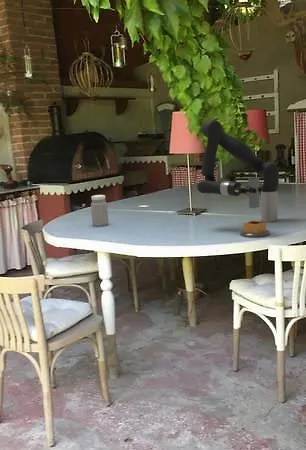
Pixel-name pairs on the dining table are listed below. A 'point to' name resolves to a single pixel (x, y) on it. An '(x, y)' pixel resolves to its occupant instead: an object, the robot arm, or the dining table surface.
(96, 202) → the jar
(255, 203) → the grey tall block
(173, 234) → the dining table surface
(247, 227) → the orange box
